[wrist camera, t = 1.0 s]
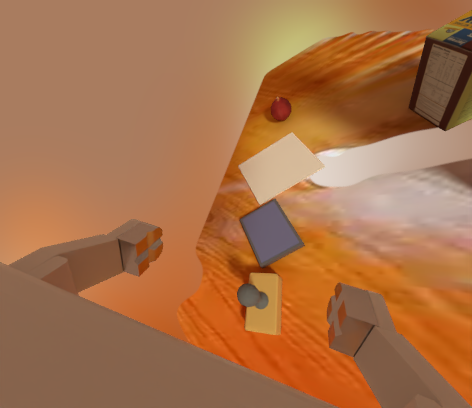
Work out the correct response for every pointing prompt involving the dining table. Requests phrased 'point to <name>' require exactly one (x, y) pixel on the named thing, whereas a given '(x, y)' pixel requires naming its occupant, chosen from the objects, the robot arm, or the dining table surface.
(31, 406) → the robot arm
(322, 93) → the dining table surface
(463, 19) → the protein box
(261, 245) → the ink pad
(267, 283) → the rubber stamp
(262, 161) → the paper
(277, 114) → the onion
